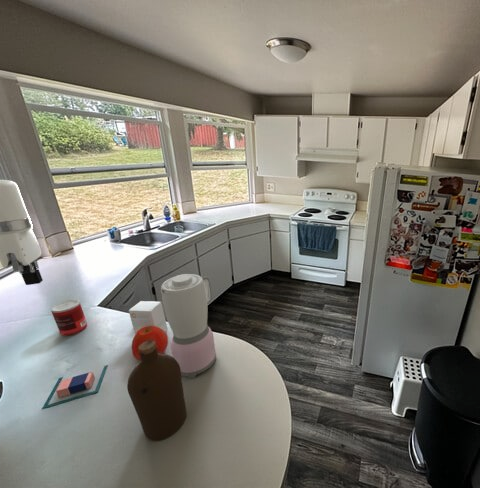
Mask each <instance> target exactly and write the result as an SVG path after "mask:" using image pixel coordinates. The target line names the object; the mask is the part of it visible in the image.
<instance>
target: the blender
mask: <svg viewBox="0 0 480 488" xmlns="http://www.w3.org/2000/svg"><path fill="white" fill-rule="evenodd" d="M160 293H161V299H162V306H163V311H164V315H165V319H166V321H167V322H168V325H169V327H170V329H171V331H172V334H173V335H172V338H171V342H170V351H171V355H172V357H173V358H174V359H175V360H176V361H177V362H178V364H179V366H180V369H181V376H185V377H187V379H194V378H196V375H198V374H201V373H203V372H205V371H206V370H208V369H209V368H211V367H212V366H213V364H214V363H215V361H217V353H216V346H215V345H216V344H215V337H214V333H213V330H212V329H211V327H210V326H209V325H208V314H209V312H208V309H209V308H208V304H209V303H210V302H211V300H212V287H211V281H210V278H209V277H208V276H205V275H203V276H201V275H198V274H195V273H181V274H177V275H175V276H172V277H170V278H168V279H166V280H165V281H164V282H163V283H162V284H161V286H160Z"/></svg>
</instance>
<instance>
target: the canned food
mask: <svg viewBox="0 0 480 488" xmlns="http://www.w3.org/2000/svg"><path fill="white" fill-rule="evenodd" d="M50 311H51V314H52V317H53V320H54V322H55V324H56V326H57V329H58V331H59V333H60V335H62V336H65V337H66V336H73V335H76V334H78V333H80V332H82V331H84V330H85V329H86V328H87V326H88V322H87V319H86V316H85V314H84V310H83V306H82V304H81V302H80V300H79V299H67V300H63V301H61V302H58V303H56V304H54V305H52V306H51V308H50Z"/></svg>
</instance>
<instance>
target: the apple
mask: <svg viewBox="0 0 480 488" xmlns="http://www.w3.org/2000/svg"><path fill="white" fill-rule="evenodd" d="M146 341H154V342H155V344H156V346H157V350H158V353H159V354H165V352H166V350H167V348H168V344H169V337H168V334H167V331H166V332H165V331H163V330H162V329H161V328H159V327H156V326H153V325H152V326H146V327H143V328H141V329H140V330H138V331H137V333H136V334H135V333H134V336H133V338H132V342H131V353H132V356H133V358H134V359H135V360H137V361H139V362H140V361H141V358H140V355H139V352H140V351H139V349H138V348H139V346H140V345H141V344H142V343H144V342H146Z"/></svg>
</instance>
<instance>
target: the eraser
mask: <svg viewBox="0 0 480 488" xmlns="http://www.w3.org/2000/svg"><path fill="white" fill-rule="evenodd" d="M94 381H95V374H94V372H93V371H90V372H86V373H82V374H79V375H75V376H73V377H68V378H65V379H62V380H61V382H60V384H59V385H58V387H57V389H56V391H55V393H56V395H57V397H58V398H62V397H66V396H69V395H73V394H77V393H80V392H83V391H87V390H90V389H91V388H92V386H93V384H94Z"/></svg>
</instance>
